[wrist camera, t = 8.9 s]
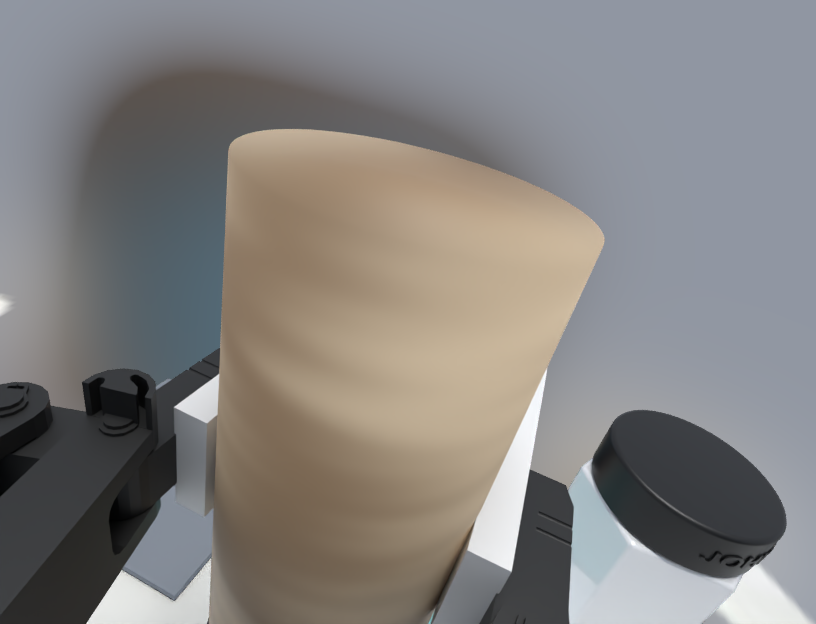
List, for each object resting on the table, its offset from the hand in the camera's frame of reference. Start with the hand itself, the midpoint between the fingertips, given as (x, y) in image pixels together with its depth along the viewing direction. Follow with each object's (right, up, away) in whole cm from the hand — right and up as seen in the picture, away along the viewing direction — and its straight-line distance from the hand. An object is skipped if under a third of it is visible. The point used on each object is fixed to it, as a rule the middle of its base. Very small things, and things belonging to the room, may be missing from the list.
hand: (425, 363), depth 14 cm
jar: (+11, -16, +14) cm, 24 cm away
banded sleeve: (-3, -8, -1) cm, 9 cm away
